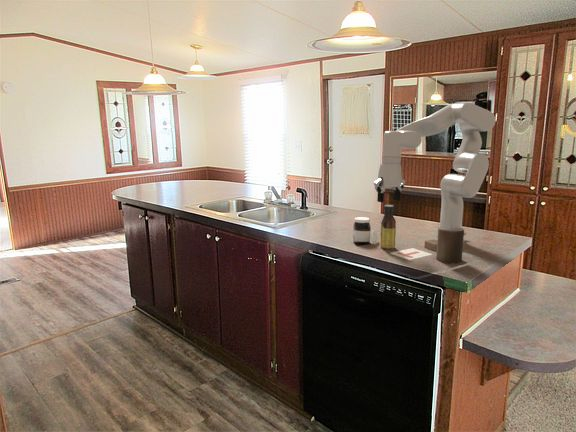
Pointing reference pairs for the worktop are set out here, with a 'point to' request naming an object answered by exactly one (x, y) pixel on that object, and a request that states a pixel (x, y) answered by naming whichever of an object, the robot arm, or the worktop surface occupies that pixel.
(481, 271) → the worktop surface
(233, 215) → the worktop surface
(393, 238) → the sauce bottle
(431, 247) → the walnut block
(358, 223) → the spread jar
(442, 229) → the brown cylindrical pedestal
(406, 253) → the board
